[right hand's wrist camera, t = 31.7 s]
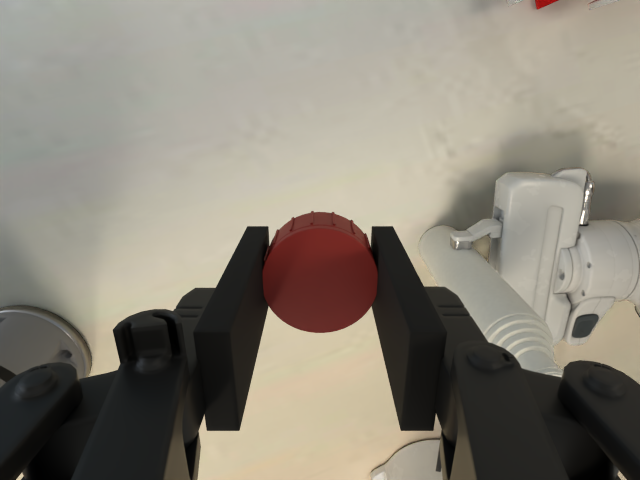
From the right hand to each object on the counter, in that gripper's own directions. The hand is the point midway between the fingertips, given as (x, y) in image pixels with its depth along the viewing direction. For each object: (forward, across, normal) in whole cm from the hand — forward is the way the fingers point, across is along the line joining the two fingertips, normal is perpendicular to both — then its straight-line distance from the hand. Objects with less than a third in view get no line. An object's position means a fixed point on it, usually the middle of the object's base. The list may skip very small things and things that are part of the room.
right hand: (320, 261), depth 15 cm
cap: (-2, 0, 0) cm, 2 cm away
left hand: (+25, +14, -12) cm, 31 cm away
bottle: (+32, +15, -12) cm, 37 cm away
